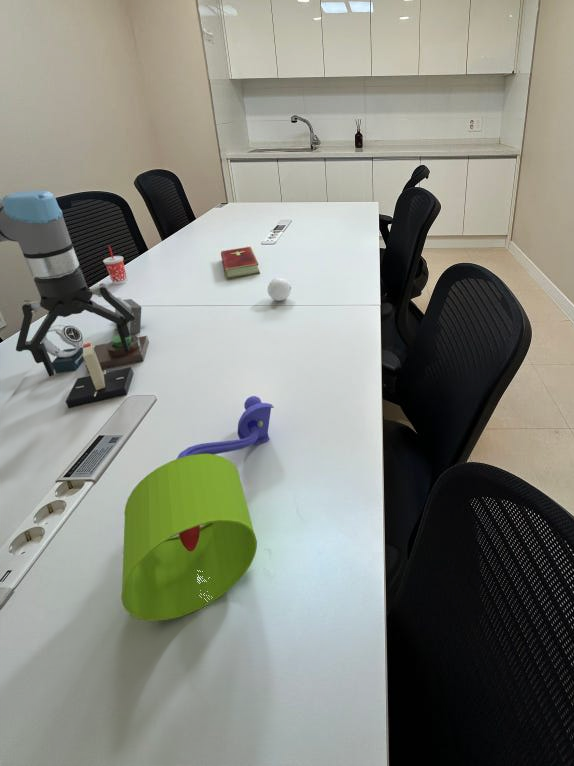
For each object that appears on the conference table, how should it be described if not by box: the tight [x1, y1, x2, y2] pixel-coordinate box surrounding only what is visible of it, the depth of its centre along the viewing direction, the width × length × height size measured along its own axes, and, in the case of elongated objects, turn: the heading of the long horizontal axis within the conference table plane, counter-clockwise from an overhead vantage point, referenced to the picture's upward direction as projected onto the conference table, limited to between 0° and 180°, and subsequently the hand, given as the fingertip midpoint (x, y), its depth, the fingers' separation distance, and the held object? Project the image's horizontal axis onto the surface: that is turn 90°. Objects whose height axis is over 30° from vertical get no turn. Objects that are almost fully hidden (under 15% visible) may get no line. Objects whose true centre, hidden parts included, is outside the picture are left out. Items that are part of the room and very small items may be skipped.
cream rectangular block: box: [82, 342, 105, 390], centre depth 85 cm, size 5×2×9 cm, turn 35°
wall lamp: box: [120, 395, 275, 622], centre depth 60 cm, size 15×23×30 cm
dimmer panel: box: [65, 366, 134, 409], centre depth 87 cm, size 11×9×2 cm
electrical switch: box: [114, 296, 142, 335], centre depth 109 cm, size 9×5×9 cm, turn 49°
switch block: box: [85, 334, 150, 374], centre depth 98 cm, size 12×9×4 cm
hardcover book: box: [220, 246, 261, 280], centre depth 151 cm, size 12×21×4 cm, turn 24°
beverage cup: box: [102, 245, 128, 285], centre depth 139 cm, size 6×6×14 cm
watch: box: [40, 324, 85, 374], centre depth 94 cm, size 6×8×11 cm
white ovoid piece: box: [267, 277, 292, 302], centre depth 125 cm, size 10×7×7 cm
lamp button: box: [111, 334, 132, 348], centre depth 98 cm, size 4×4×2 cm
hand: (90, 360), depth 84 cm, fingers open, 13 cm apart
